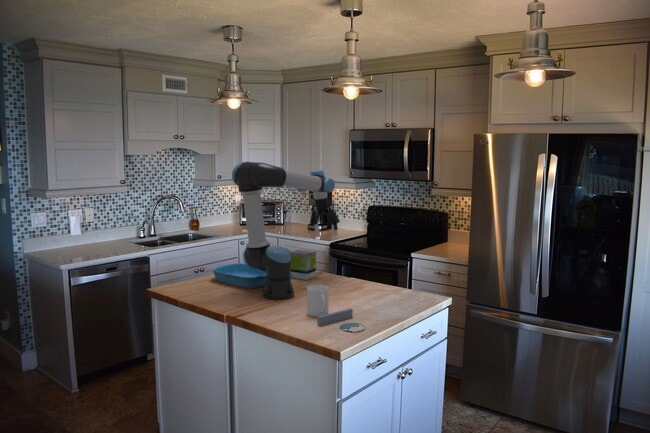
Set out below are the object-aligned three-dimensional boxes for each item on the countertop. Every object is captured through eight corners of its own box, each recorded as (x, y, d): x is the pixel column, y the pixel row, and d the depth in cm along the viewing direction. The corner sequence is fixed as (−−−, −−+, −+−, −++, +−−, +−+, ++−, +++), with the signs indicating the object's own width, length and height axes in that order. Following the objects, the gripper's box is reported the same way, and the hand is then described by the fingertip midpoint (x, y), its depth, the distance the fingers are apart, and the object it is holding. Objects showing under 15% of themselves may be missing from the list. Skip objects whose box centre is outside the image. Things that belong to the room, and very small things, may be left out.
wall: (319, 326, 209) (319, 317, 209) (317, 325, 211) (317, 316, 210) (352, 317, 221) (352, 309, 220) (349, 316, 222) (350, 308, 222)
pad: (342, 333, 202) (342, 332, 202) (337, 324, 212) (337, 323, 212) (367, 331, 204) (367, 330, 204) (361, 323, 214) (361, 322, 213)
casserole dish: (204, 280, 278) (204, 267, 277) (235, 272, 296) (235, 260, 295) (253, 293, 256) (253, 279, 255) (283, 284, 274) (283, 270, 273)
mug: (319, 309, 231) (320, 283, 230) (336, 316, 222) (336, 289, 220) (302, 313, 226) (302, 287, 224) (318, 320, 216) (319, 293, 215)
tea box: (316, 277, 288) (316, 250, 286) (306, 280, 280) (306, 253, 278) (294, 273, 296) (294, 247, 294) (283, 276, 288) (283, 250, 286)
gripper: (342, 195, 279) (347, 234, 282) (309, 198, 296) (315, 234, 299) (333, 198, 274) (339, 237, 277) (300, 200, 291) (306, 237, 294)
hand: (326, 235), depth 288 cm, fingers open, 13 cm apart
